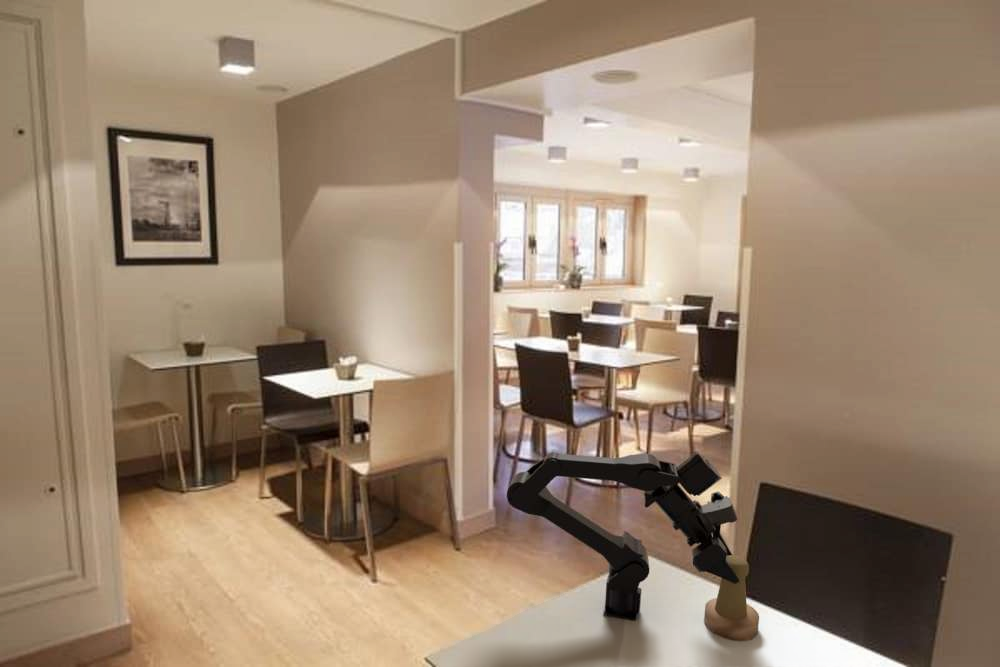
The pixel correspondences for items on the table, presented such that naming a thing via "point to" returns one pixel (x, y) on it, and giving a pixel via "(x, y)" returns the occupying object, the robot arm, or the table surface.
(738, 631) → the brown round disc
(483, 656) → the table surface
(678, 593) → the table surface
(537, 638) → the table surface
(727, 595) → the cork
